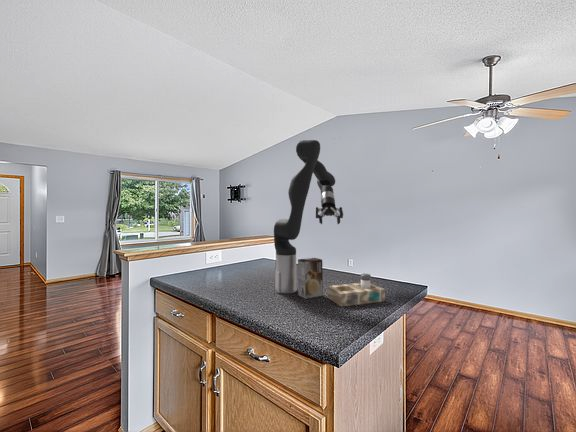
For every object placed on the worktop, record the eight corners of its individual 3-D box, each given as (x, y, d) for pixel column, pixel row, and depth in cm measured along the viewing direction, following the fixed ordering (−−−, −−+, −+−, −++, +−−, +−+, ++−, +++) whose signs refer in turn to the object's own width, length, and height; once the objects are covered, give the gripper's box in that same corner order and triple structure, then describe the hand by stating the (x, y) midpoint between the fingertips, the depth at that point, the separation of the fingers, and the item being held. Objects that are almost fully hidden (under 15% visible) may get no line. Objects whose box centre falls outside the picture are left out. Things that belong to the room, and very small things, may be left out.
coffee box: (315, 292, 131) (315, 257, 131) (323, 295, 126) (323, 259, 125) (297, 295, 127) (297, 259, 127) (305, 299, 121) (305, 261, 121)
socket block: (341, 306, 112) (341, 294, 111) (327, 297, 123) (327, 285, 123) (385, 301, 118) (385, 289, 117) (368, 293, 129) (368, 282, 129)
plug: (363, 299, 120) (364, 276, 119) (358, 297, 124) (358, 274, 123) (372, 299, 121) (372, 275, 121) (366, 296, 125) (367, 273, 125)
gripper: (315, 196, 155) (316, 218, 144) (341, 196, 155) (344, 218, 144) (314, 206, 161) (315, 228, 150) (340, 205, 160) (343, 227, 149)
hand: (330, 223), depth 147 cm, fingers open, 8 cm apart
